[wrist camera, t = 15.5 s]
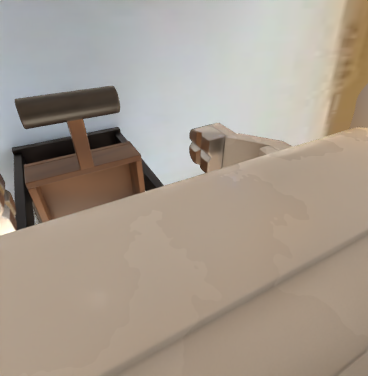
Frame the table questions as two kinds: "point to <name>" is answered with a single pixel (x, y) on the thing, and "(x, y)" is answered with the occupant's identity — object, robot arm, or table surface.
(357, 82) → the table surface
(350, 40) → the table surface
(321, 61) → the table surface
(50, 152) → the stand
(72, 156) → the brown tilting tray
